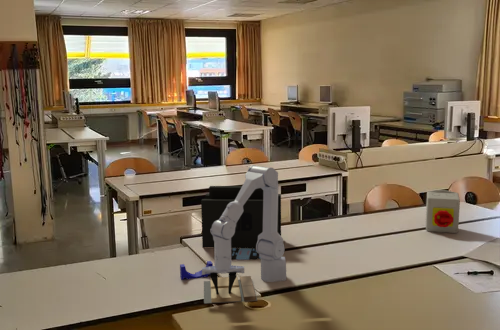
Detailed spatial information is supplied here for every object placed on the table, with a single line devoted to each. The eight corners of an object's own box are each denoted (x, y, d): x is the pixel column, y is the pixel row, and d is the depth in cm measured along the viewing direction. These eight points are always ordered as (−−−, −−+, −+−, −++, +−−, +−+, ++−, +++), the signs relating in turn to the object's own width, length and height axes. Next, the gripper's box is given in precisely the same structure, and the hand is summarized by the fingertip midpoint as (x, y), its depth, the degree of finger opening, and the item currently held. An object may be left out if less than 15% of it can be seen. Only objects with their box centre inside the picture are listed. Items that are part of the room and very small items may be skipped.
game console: (281, 239, 252) (280, 183, 248) (278, 260, 222) (277, 198, 218) (208, 238, 255) (206, 183, 251) (195, 259, 226) (193, 197, 221)
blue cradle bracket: (210, 274, 208) (209, 259, 207) (213, 278, 204) (212, 263, 203) (179, 278, 204) (179, 263, 203) (181, 282, 200) (181, 267, 199)
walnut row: (250, 279, 199) (250, 275, 199) (255, 300, 180) (255, 296, 180) (240, 280, 199) (239, 276, 199) (244, 300, 180) (243, 296, 180)
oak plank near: (239, 291, 188) (239, 287, 188) (241, 300, 180) (240, 296, 180) (210, 292, 188) (210, 288, 187) (211, 302, 179) (211, 298, 179)
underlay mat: (251, 281, 200) (251, 279, 200) (257, 302, 180) (257, 300, 180) (203, 283, 198) (203, 281, 198) (204, 305, 179) (203, 303, 178)
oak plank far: (237, 280, 199) (237, 276, 199) (238, 288, 190) (238, 285, 190) (210, 281, 198) (210, 277, 198) (210, 290, 190) (210, 286, 189)
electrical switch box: (425, 238, 257) (427, 199, 251) (425, 226, 270) (427, 189, 264) (458, 240, 252) (461, 201, 246) (456, 228, 266) (458, 190, 260)
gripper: (201, 259, 177) (202, 298, 179) (245, 258, 178) (245, 297, 180) (201, 253, 184) (202, 290, 186) (243, 251, 185) (243, 289, 187)
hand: (223, 293), depth 183 cm, fingers closed on oak plank near, 3 cm apart
